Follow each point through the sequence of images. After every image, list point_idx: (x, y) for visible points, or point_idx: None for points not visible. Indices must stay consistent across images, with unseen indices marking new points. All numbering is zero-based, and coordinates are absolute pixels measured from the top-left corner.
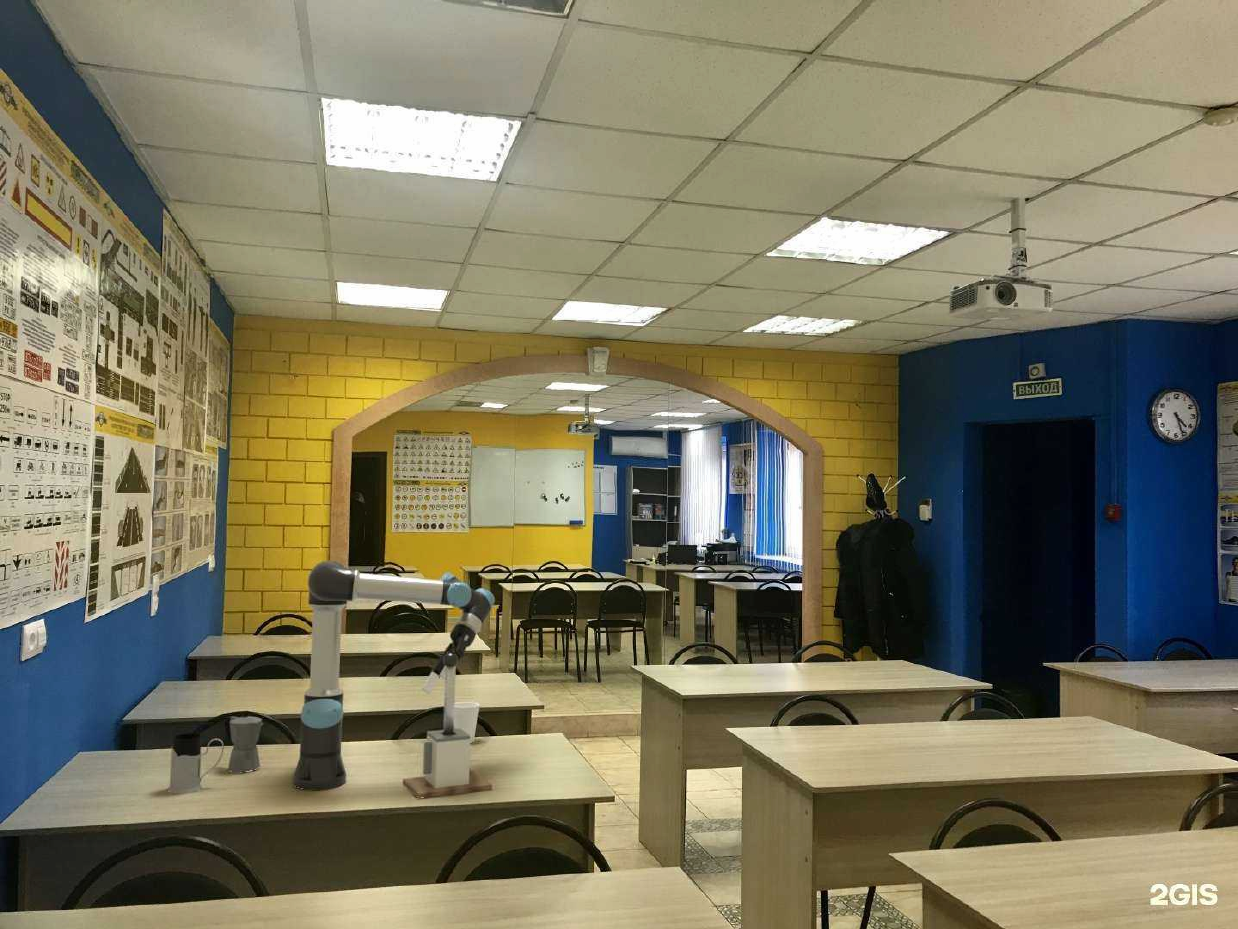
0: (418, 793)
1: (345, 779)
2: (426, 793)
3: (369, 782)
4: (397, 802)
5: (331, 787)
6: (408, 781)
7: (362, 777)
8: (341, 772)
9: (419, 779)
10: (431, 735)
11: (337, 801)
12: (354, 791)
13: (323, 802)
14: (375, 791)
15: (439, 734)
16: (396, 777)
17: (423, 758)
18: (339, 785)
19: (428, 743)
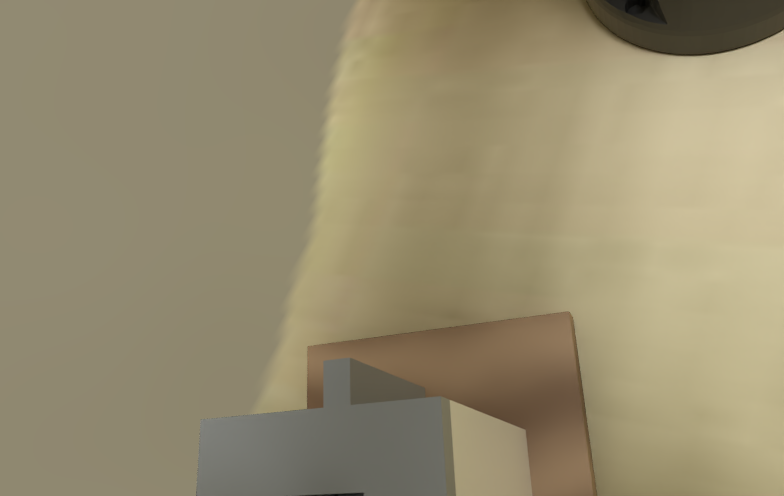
0: (309, 348)
1: (676, 45)
2: (308, 386)
3: (656, 161)
4: (315, 265)
5: (590, 6)
6: (508, 332)
7: (771, 126)
8: (654, 4)
9: (529, 395)
10: (327, 408)
11: (411, 52)
12: (522, 103)
13: (417, 8)
14: (493, 187)
15: (309, 471)
16: (724, 300)
17: (391, 375)
18: (617, 34)
19: (323, 386)
